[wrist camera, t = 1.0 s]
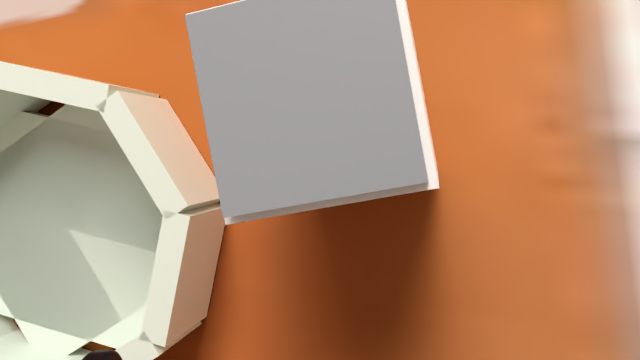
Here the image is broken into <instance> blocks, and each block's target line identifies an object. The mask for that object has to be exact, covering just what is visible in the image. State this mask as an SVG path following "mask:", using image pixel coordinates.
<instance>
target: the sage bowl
mask: <svg viewBox="0 0 640 360" xmlns="http://www.w3.org/2000/svg"><path fill="white" fill-rule="evenodd" d="M52 101H55V102H60V103H64V104H65V105H64V106H63V107H61V108H60V109H59V110H57V111H56V112H55V113H53V114H52V115H51V116H49V115H44V114H40V113H37V112H38V111H40V110H41V109H42V108H44V107H45V106H46V105H48V104H49V103H50V102H52ZM218 202H220V200H219V194H218V189H217V184H216V178H215V177H214V175H213V173H212V172H211V170H210V169H209V167H208V165H207V164H206V162H205V160H204V159H203V157H202V156H201V154H200V152H199V151H198V149H197V148H196V146H195V144H194V143H193V141H192V140H191V138H190V136H189V135H188V133H187V131H186V130H185V128H184V127H183V125H182V123H181V122H180V120H179V119H178V117H177V115H176V114H175V112H174V110H173V109H172V107H171V106H170V104H169V102H168V101H167V99H161V98H159V94H156V93H151V92H146V91H141V90H137V89H132V88H127V87H123V86H118V85H113V84H109V83H104V82H99V81H95V80H90V79H85V78H81V77H76V76H71V75H66V74H62V73H57V72H52V71H47V70H42V69H37V68H32V67H27V66H22V65H17V64H12V63H7V62H2V61H0V360H82V359H83V358H84V357H85V356H86V355H87V354H88V353H90V352H92V351H90V350H86V349H83V348H81V347H83V346H84V345H86V344H88V343H89V342H91V341H92V342H95V343H99V344H102V345H105V346H109V347H112V348H116V350H115V351H116V352H118V353H119V355H120V356H121V358H122V360H153V359H155V358H156V357H158V356H159V355H161V354H162V353H163V352H165V351H166V350H167V349H169V348H170V347H171V346H173V345H174V344H175V343H177V342H178V341H179V340H181V339H182V338H183V337H185V336H186V335H187V334H189V333H190V332H191V331H193V330H194V329H195V328H197V327H198V326H199V325H201V324H202V323H201V322H200V321H201V320H203V319H204V318H205V317H207V312H208V307H209V302H210V297H211V292H212V287H213V282H214V277H215V272H216V267H217V262H218V257H219V252H220V247H221V242H222V237H223V232H224V227H225V220H224V218H223V216H222V210H221V205H220V204H219V203H218ZM13 318H14V319H15V321H16V322H17V324H18V326H19V327H20V329H21V330H20V329H18V327H17V325H16V323H15V322H14V320H13Z"/></svg>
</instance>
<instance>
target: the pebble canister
mask: <svg viewBox="0 0 640 360" xmlns="http://www.w3.org/2000/svg"><path fill="white" fill-rule="evenodd" d="M185 19H186V24H187V30H188V35H189V40H190V46H191V51H192V56H193V61H194V67H195V72H196V77H197V83H198V88H199V93H200V99H201V104H202V109H203V115H204V120H205V125H206V131H207V136H208V141H209V146H210V152H211V157H212V162H213V168H214V173H215V178H216V184H217V189H218V194H219V200H220V205H221V210H222V216H223V218H224V220H225V225H228V224H234V223H239V222H245V221H251V220H257V219H263V218H268V217H274V216H280V215H286V214H292V213H297V212H303V211H309V210H315V209H321V208H327V207H332V206H338V205H344V204H350V203H356V202H361V201H367V200H373V199H379V198H385V197H390V196H396V195H402V194H408V193H414V192H419V191H425V190H431V189H437V188H439V178H438V168H437V163H436V157H435V152H434V146H433V141H432V135H431V130H430V124H429V119H428V113H427V108H426V102H425V97H424V91H423V86H422V80H421V75H420V69H419V64H418V58H417V53H416V47H415V42H414V37H413V32H412V27H411V22H410V17H409V12H408V7H407V3H406V0H241V1H237V2H233V3H229V4H225V5H221V6H217V7H213V8H209V9H205V10H201V11H197V12H193V13H189V14H186V15H185Z"/></svg>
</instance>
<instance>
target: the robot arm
mask: <svg viewBox="0 0 640 360" xmlns="http://www.w3.org/2000/svg"><path fill="white" fill-rule="evenodd" d="M82 360H122V358H121V356H120V355H119V353H118V352H116V351H115V350H96V351H92V352H90V353H88V354H87V355H86V356H85V357H84V358H83V359H82Z"/></svg>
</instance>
